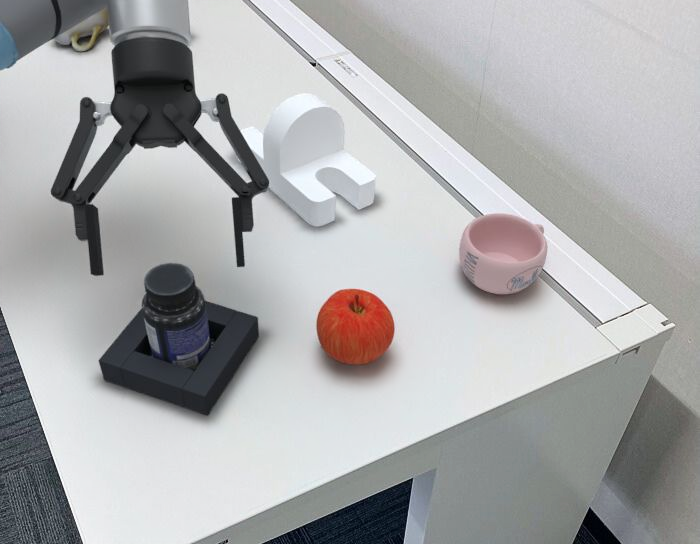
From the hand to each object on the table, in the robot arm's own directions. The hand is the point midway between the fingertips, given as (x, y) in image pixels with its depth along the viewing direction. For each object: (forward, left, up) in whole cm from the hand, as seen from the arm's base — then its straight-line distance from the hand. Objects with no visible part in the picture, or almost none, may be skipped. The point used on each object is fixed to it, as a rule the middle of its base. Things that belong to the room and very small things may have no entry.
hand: (170, 271), depth 74 cm
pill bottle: (+1, -2, -11) cm, 11 cm away
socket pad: (+1, -2, -10) cm, 11 cm away
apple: (+17, +6, -11) cm, 21 cm away
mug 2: (+29, +25, -11) cm, 40 cm away
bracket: (0, +33, -11) cm, 35 cm away
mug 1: (-49, +54, -11) cm, 74 cm away
